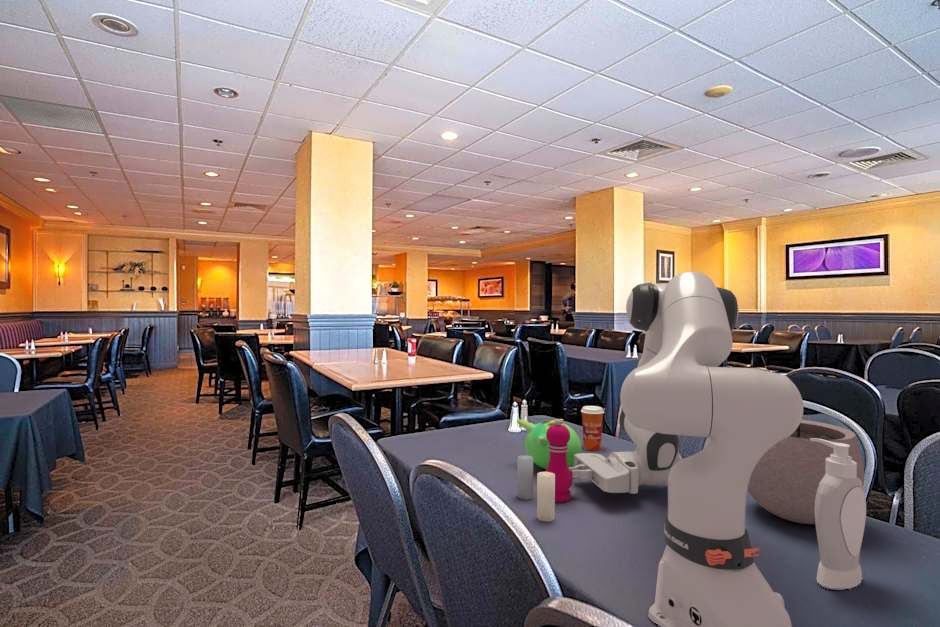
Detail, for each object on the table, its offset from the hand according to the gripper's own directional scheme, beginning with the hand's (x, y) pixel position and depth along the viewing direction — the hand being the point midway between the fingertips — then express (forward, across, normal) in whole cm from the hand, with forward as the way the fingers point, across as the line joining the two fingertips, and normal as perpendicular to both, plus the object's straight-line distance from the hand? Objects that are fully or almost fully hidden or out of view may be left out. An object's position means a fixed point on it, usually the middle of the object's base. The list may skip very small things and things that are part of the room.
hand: (570, 472), depth 126 cm
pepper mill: (+3, 0, +6) cm, 7 cm away
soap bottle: (-32, +44, +6) cm, 55 cm away
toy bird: (-2, -22, +6) cm, 23 cm away
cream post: (+10, +11, +6) cm, 16 cm away
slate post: (+11, -2, +6) cm, 13 cm away
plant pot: (-47, +21, +6) cm, 52 cm away
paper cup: (-23, -39, +6) cm, 46 cm away
